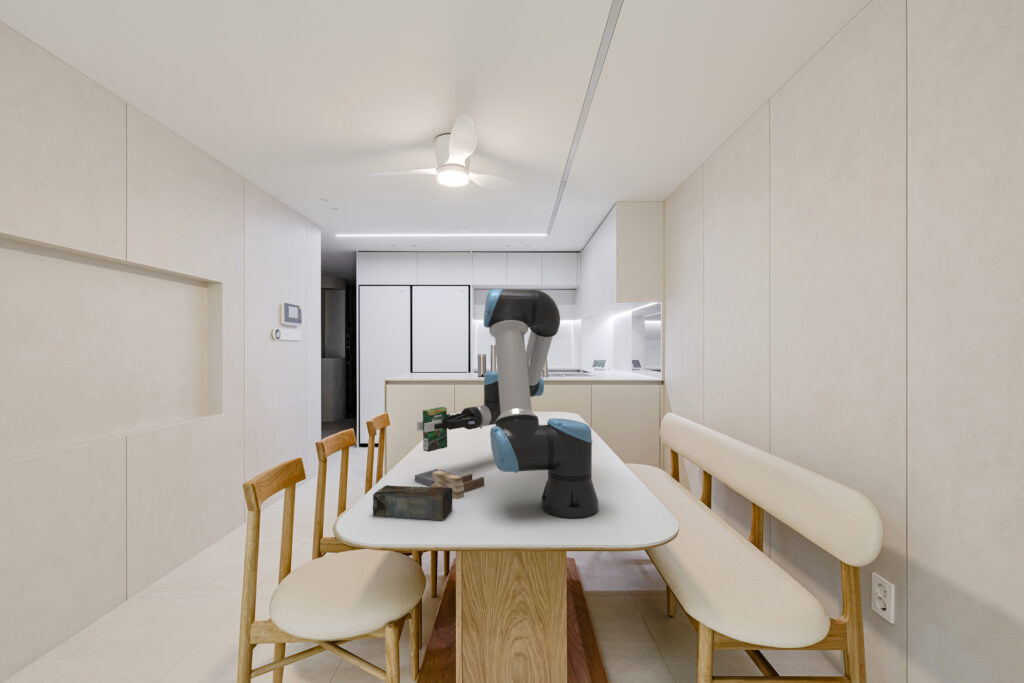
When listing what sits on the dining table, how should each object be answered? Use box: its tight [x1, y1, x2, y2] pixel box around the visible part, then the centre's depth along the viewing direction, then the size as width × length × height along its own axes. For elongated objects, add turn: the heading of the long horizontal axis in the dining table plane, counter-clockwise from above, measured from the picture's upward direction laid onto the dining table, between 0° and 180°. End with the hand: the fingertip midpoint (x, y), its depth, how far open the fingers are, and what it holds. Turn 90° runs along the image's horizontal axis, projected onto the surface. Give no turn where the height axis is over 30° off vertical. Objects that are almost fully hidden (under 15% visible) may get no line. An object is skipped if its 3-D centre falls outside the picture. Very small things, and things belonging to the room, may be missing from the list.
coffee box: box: [422, 406, 448, 453], centre depth 139 cm, size 8×3×13 cm, turn 138°
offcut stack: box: [431, 469, 465, 499], centre depth 127 cm, size 11×3×5 cm, turn 49°
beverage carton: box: [372, 484, 453, 521], centre depth 112 cm, size 8×19×7 cm, turn 82°
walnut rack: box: [460, 473, 485, 493], centre depth 133 cm, size 6×8×2 cm
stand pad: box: [414, 468, 456, 487], centre depth 138 cm, size 9×9×2 cm
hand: (421, 427), depth 135 cm, fingers closed on coffee box, 3 cm apart
